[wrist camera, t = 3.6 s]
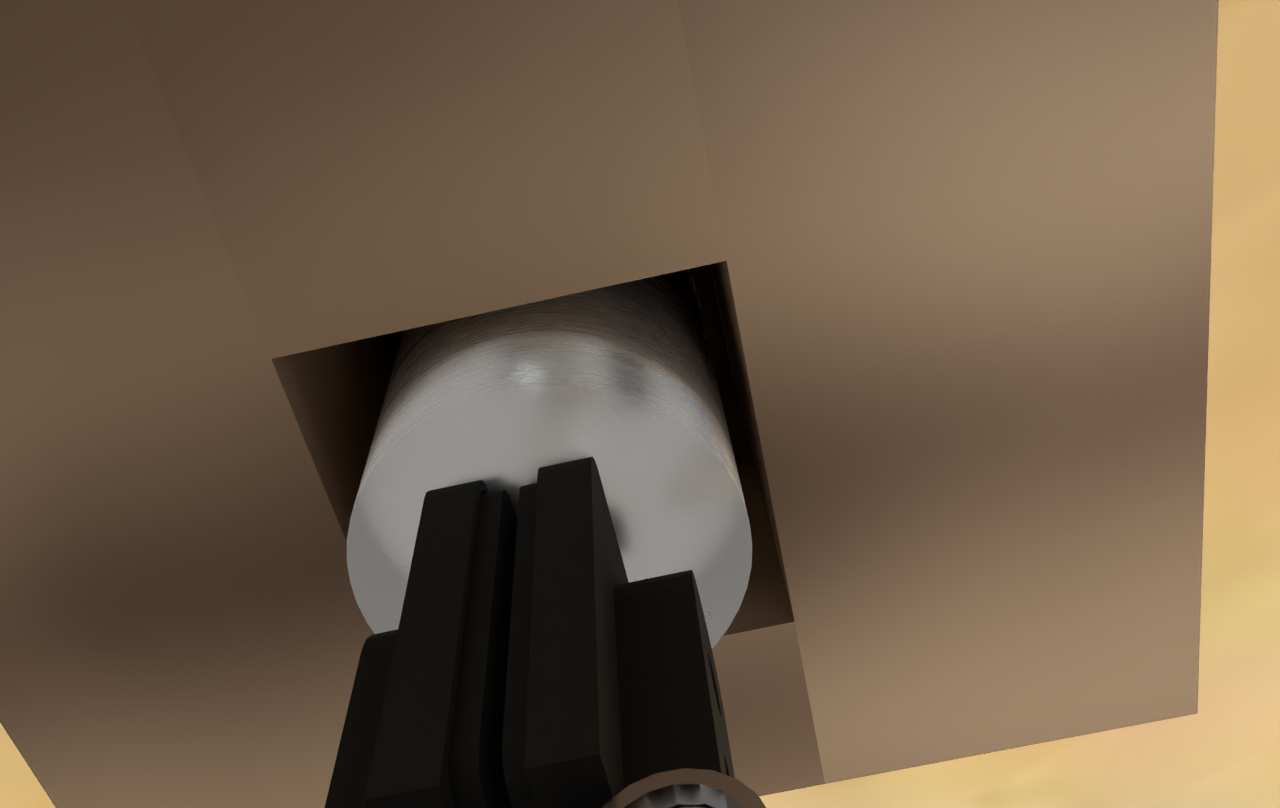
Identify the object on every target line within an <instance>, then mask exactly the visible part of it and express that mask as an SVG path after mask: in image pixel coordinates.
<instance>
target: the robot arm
mask: <svg viewBox="0 0 1280 808" xmlns="http://www.w3.org/2000/svg"><path fill="white" fill-rule="evenodd" d="M325 808H766V807H765V806H764V804H763V802H762V801H761V799H760V798H759V796H758V795H757V793H755V792H754V791H753V790H751V789H750V788H749V787H747V786H746V785H745V784H743V783H742V782H741V781H739V780H738V779H737V778H735V776H734V770H733V764H732V758H731V751H730V745H729V739H728V733H727V727H726V720H725V715H724V709H723V703H722V698H721V692H720V687H719V682H718V677H717V672H716V667H715V662H714V657H713V653H712V648H711V643H710V639H709V634H708V630H707V626H706V621H705V617H704V613H703V609H702V604H701V600H700V596H699V592H698V588H697V584H696V580H695V576H694V573H693V571H692V570H688V571H683V572H678V573H673V574H668V575H663V576H658V577H654V578H649V579H644V580H639V581H634V582H628V578H627V574H626V570H625V567H624V563H623V559H622V556H621V552H620V548H619V545H618V541H617V537H616V534H615V530H614V526H613V522H612V519H611V515H610V511H609V508H608V504H607V500H606V497H605V493H604V489H603V486H602V482H601V478H600V475H599V471H598V468H597V465H596V462H595V459H594V458H593V456H592V457H588V458H583V459H578V460H573V461H568V462H564V463H559V464H554V465H549V466H545V467H540V468H539V469H538V474H537V483H534V484H529V485H524V486H521V487H520V491H519V506H518V520H517V518H516V515H515V511H514V508H513V505H512V502H511V499H510V497H509V495H508V493H507V491H506V490H500V491H495V492H491V493H489V490H488V488H487V486H486V484H485V483H484V482H483V481H482V480H478V481H473V482H468V483H463V484H458V485H454V486H449V487H444V488H439V489H435V490H430V491H427V492H426V494H425V497H424V502H423V507H422V512H421V517H420V522H419V527H418V532H417V537H416V542H415V547H414V552H413V557H412V562H411V567H410V572H409V577H408V582H407V587H406V592H405V597H404V602H403V608H402V613H401V618H400V623H399V628H398V629H397V630H392V631H387V632H383V633H378V634H373V635H371V636H369V637H368V638H367V639H366V640H365V643H364V645H363V648H362V651H361V655H360V659H359V663H358V667H357V672H356V676H355V680H354V684H353V689H352V693H351V697H350V701H349V706H348V710H347V714H346V718H345V723H344V727H343V731H342V736H341V740H340V744H339V748H338V753H337V757H336V761H335V765H334V770H333V774H332V778H331V782H330V787H329V791H328V795H327V799H326V804H325Z"/></svg>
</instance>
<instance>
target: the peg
mask: <svg viewBox="0 0 1280 808" xmlns="http://www.w3.org/2000/svg"><path fill="white" fill-rule="evenodd" d="M592 456H593V458H594V459H595V462H596V465H597V468H598V471H599V475H600V478H601V482H602V486H603V489H604V493H605V497H606V500H607V504H608V508H609V511H610V515H611V519H612V522H613V526H614V530H615V534H616V537H617V541H618V545H619V548H620V552H621V556H622V559H623V563H624V567H625V570H626V574H627V578H628V582H634V581H639V580H644V579H649V578H654V577H658V576H663V575H668V574H673V573H678V572H683V571H688V570H692V571H693V573H694V576H695V580H696V584H697V588H698V592H699V596H700V600H701V604H702V609H703V613H704V617H705V621H706V626H707V630H708V634H709V639H710V643H711V648H713V647H714V646H715V645H716V644H717V643H718V641H719V640H720V638H721V637H722V636H723V634H724V633H725V632H726V630H727V629H728V628H729V626H730V625H731V623H732V621H733V619H734V617H735V615H736V614H737V612H738V610H739V608H740V606H741V603H742V600H743V598H744V595H745V592H746V590H747V586H748V581H749V576H750V572H751V566H752V538H751V530H750V523H749V518H748V514H747V509H746V505H745V501H744V496H743V492H742V488H741V483H740V479H739V474H738V470H737V466H736V461H735V457H734V453H733V448H732V444H731V440H730V435H729V431H728V426H727V422H726V418H725V413H724V409H723V405H722V400H721V396H720V391H719V387H718V383H717V378H716V374H715V370H714V365H713V361H712V356H711V352H710V348H709V343H708V339H707V335H706V330H705V326H704V321H703V317H702V313H701V308H700V304H699V300H698V295H697V292H696V288H695V285H694V281H693V278H692V276H691V274H690V271H689V269H686V270H681V271H677V272H672V273H667V274H663V275H658V276H653V277H649V278H644V279H640V280H635V281H630V282H626V283H621V284H616V285H612V286H607V287H602V288H598V289H593V290H588V291H584V292H579V293H575V294H570V295H565V296H561V297H556V298H551V299H547V300H542V301H537V302H533V303H528V304H524V305H519V306H514V307H510V308H505V309H500V310H496V311H491V312H486V313H482V314H477V315H473V316H468V317H463V318H459V319H454V320H449V321H445V322H440V323H435V324H431V325H426V326H422V327H417V328H412V329H408V330H404V331H403V335H402V338H401V342H400V345H399V349H398V352H397V356H396V359H395V363H394V366H393V370H392V373H391V377H390V380H389V384H388V387H387V391H386V395H385V398H384V402H383V405H382V409H381V412H380V416H379V419H378V423H377V426H376V430H375V433H374V437H373V440H372V444H371V447H370V451H369V454H368V458H367V461H366V465H365V468H364V472H363V475H362V479H361V483H360V486H359V490H358V493H357V497H356V500H355V504H354V507H353V511H352V514H351V518H350V524H349V530H348V536H347V566H348V572H349V578H350V584H351V587H352V590H353V593H354V596H355V599H356V602H357V604H358V606H359V608H360V610H361V612H362V614H363V616H364V618H365V620H366V622H367V624H368V625H369V626H370V628H371V629H372V631H373V632H374V634H378V633H383V632H387V631H392V630H397V629H398V628H399V623H400V618H401V613H402V608H403V602H404V597H405V592H406V587H407V582H408V577H409V572H410V567H411V562H412V557H413V552H414V547H415V542H416V537H417V532H418V527H419V522H420V517H421V512H422V507H423V502H424V497H425V494H426V492H427V491H430V490H435V489H439V488H444V487H449V486H454V485H458V484H463V483H468V482H473V481H478V480H482V481H483V482H484V483H485V484H486V486H487V488H488V490H489V493H491V492H495V491H500V490H506V491H507V493H508V495H509V497H510V499H511V502H512V505H513V508H514V511H515V515H516V518H517V520H518V506H519V491H520V487H521V486H524V485H529V484H534V483H537V474H538V469H539V468H540V467H545V466H549V465H554V464H559V463H564V462H568V461H573V460H578V459H583V458H588V457H592Z"/></svg>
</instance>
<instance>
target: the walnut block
mask: <svg viewBox="0 0 1280 808" xmlns="http://www.w3.org/2000/svg"><path fill="white" fill-rule="evenodd" d="M1217 33H1218V0H0V722H1V724H2V726H3V727H4V729H5V730H6V732H7V733H8V735H9V736H10V738H11V739H12V741H13V742H14V744H15V746H16V747H17V749H18V750H19V752H20V753H21V755H22V756H23V758H24V759H25V761H26V762H27V764H28V766H29V767H30V769H31V770H32V772H33V773H34V775H35V776H36V778H37V779H38V781H39V782H40V784H41V786H42V787H43V789H44V790H45V792H46V793H47V795H48V796H49V798H50V799H51V801H52V802H53V804H54V806H55V807H56V808H325V804H326V799H327V795H328V791H329V787H330V782H331V778H332V774H333V770H334V765H335V761H336V757H337V753H338V748H339V744H340V740H341V736H342V731H343V727H344V723H345V718H346V714H347V710H348V706H349V701H350V697H351V693H352V689H353V684H354V680H355V676H356V672H357V667H358V663H359V659H360V655H361V651H362V648H363V645H364V643H365V640H366V639H367V638H368V637H369V636H371V635H373V634H374V632H373V631H372V629H371V628H370V626H369V625H368V624H367V622H366V620H365V618H364V616H363V614H362V612H361V610H360V608H359V606H358V604H357V602H356V599H355V596H354V593H353V590H352V587H351V584H350V578H349V572H348V566H347V536H348V530H349V524H350V518H351V514H352V511H353V507H354V504H355V500H356V497H357V493H358V490H359V486H360V483H361V479H362V475H363V472H364V468H365V465H366V461H367V458H368V454H369V451H370V447H371V444H372V440H373V437H374V433H375V430H376V426H377V423H378V419H379V416H380V412H381V409H382V405H383V402H384V398H385V395H386V391H387V387H388V384H389V380H390V377H391V373H392V370H393V366H394V363H395V359H396V356H397V352H398V349H399V345H400V342H401V338H402V335H403V331H404V330H408V329H412V328H417V327H422V326H426V325H431V324H435V323H440V322H445V321H449V320H454V319H459V318H463V317H468V316H473V315H477V314H482V313H486V312H491V311H496V310H500V309H505V308H510V307H514V306H519V305H524V304H528V303H533V302H537V301H542V300H547V299H551V298H556V297H561V296H565V295H570V294H575V293H579V292H584V291H588V290H593V289H598V288H602V287H607V286H612V285H616V284H621V283H626V282H630V281H635V280H640V279H644V278H649V277H653V276H658V275H663V274H667V273H672V272H677V271H681V270H686V269H691V268H695V267H700V266H704V265H709V264H710V265H711V270H712V275H713V280H714V285H715V290H716V295H717V301H718V306H719V311H720V316H721V321H722V326H723V331H724V336H725V341H726V347H727V352H728V357H729V362H730V367H731V372H732V377H733V379H731V380H726V381H721V382H717V383H718V387H719V391H720V396H721V400H722V405H723V409H724V413H725V418H726V422H727V426H728V431H729V435H730V440H731V444H732V448H733V453H734V457H735V461H736V466H737V470H738V474H739V479H740V483H741V488H742V492H743V496H744V501H745V505H746V509H747V514H748V518H749V523H750V530H751V538H752V566H751V572H750V576H749V581H748V586H747V590H746V592H745V595H744V598H743V600H742V603H741V606H740V608H739V610H738V612H737V614H736V615H735V617H734V619H733V621H732V623H731V625H730V626H729V628H728V629H727V630H726V632H725V633H724V634H723V636H722V637H721V638H720V640H719V641H718V643H717V644H716V645H715V646H714V647H713V648H712V653H713V657H714V662H715V667H716V672H717V677H718V682H719V687H720V692H721V698H722V703H723V709H724V715H725V720H726V727H727V733H728V739H729V745H730V751H731V758H732V764H733V770H734V776H735V778H737V779H738V780H739V781H741V782H742V783H743V784H745V785H746V786H747V787H749V788H750V789H751V790H753V791H754V792H755V793H757V795H758V796H763V795H768V794H774V793H779V792H784V791H789V790H795V789H800V788H805V787H811V786H816V785H821V784H826V783H832V782H837V781H842V780H848V779H853V778H858V777H863V776H869V775H874V774H879V773H885V772H890V771H895V770H900V769H906V768H911V767H916V766H922V765H927V764H932V763H938V762H943V761H948V760H953V759H959V758H964V757H969V756H975V755H980V754H985V753H990V752H996V751H1001V750H1006V749H1012V748H1017V747H1022V746H1027V745H1033V744H1038V743H1043V742H1049V741H1054V740H1059V739H1064V738H1070V737H1075V736H1080V735H1086V734H1091V733H1096V732H1102V731H1107V730H1112V729H1117V728H1123V727H1128V726H1133V725H1139V724H1144V723H1149V722H1154V721H1160V720H1165V719H1170V718H1176V717H1181V716H1186V715H1191V714H1197V710H1198V676H1199V642H1200V608H1201V574H1202V541H1203V507H1204V473H1205V439H1206V405H1207V371H1208V337H1209V304H1210V270H1211V236H1212V202H1213V168H1214V134H1215V100H1216V66H1217Z"/></svg>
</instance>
